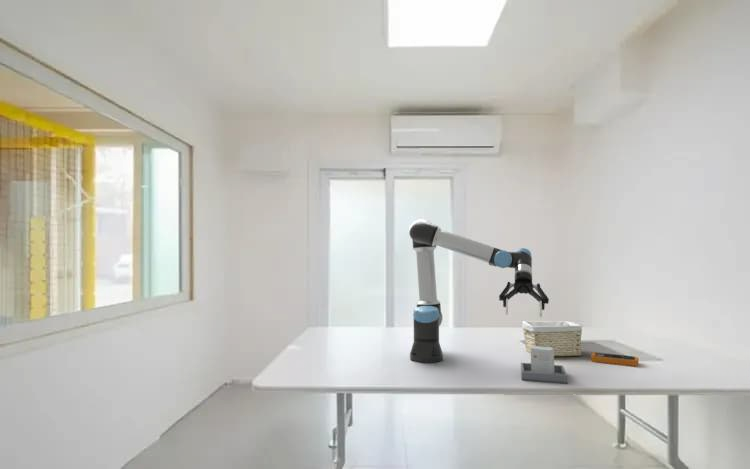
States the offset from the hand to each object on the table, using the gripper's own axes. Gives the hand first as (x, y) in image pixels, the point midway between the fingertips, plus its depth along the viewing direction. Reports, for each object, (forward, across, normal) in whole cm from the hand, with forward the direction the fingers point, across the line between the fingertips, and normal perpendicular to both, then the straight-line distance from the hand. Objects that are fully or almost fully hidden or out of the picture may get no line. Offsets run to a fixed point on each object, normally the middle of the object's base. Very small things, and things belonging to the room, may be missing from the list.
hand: (523, 313), depth 181 cm
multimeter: (-1, -40, -32) cm, 51 cm away
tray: (+23, -7, -9) cm, 26 cm away
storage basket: (-9, -14, -40) cm, 44 cm away
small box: (+22, -7, -9) cm, 25 cm away
